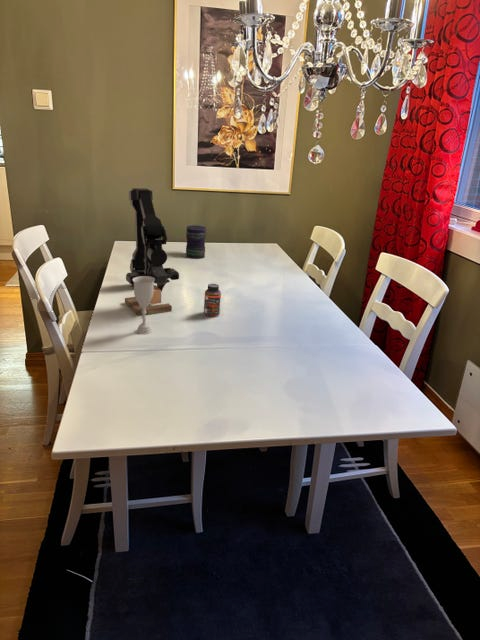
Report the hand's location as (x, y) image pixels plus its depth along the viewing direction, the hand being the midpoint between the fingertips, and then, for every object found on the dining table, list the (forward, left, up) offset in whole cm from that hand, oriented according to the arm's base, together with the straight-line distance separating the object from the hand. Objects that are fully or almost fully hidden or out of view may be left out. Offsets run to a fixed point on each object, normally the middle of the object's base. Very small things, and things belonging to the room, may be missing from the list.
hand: (153, 298), depth 182 cm
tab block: (0, 0, -1) cm, 1 cm away
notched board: (0, -2, -3) cm, 4 cm away
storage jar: (-58, +46, -4) cm, 74 cm away
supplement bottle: (+15, +17, -4) cm, 23 cm away
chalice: (+20, -11, -4) cm, 23 cm away
